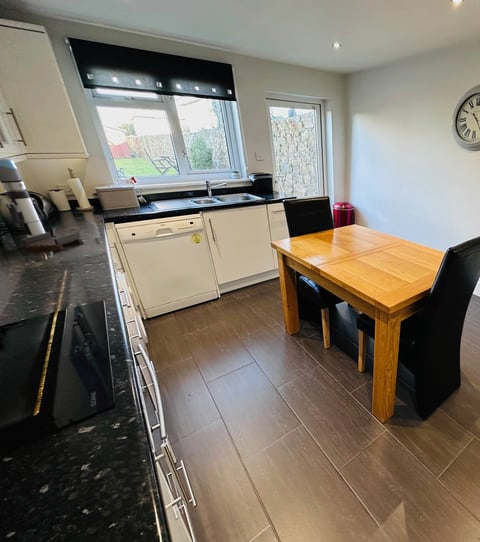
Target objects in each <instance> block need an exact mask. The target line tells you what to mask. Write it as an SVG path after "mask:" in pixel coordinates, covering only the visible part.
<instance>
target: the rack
mask: <svg viewBox="0 0 480 542" xmlns="http://www.w3.org/2000/svg"><path fill="white" fill-rule="evenodd" d="M21 241H22V243H23V245H24V246H25V249H26V251H27V253H28V252H65V251H66V249H65V247H64V246H81V245H84V242H83V239H82V238H81V234H80V232H79V231H75V232H71V233H68V234H66V235H62V236H57V237H56V236H55V237H54V236H53V237H52V235H51V232H50V231H45V233H43V234H39V235H36V236H32V237H29V238H28V237H26V238H21Z"/></svg>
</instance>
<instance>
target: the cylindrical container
mask: <svg viewBox="0 0 480 542" xmlns="http://www.w3.org/2000/svg"><path fill="white" fill-rule="evenodd" d="M15 200H16V202H17V204H18V205H15V206H16V207H15V208H16V210H17V212H22V214H23V216H24V223H27V225H28V227H29V229H30V231H31V234H32V235H26V238H29V237H32V236H36V235H39V234H43V233H46V230H45V231H44V229H43V226H44V225H43V226H42V224H41V222H40V220H39V217H38V215H37V213H36V211H35V208H34V206H33V204H32V202H31V200H32V199H31V197H29V198H24V199H15ZM9 201H10V202H11V199H9ZM20 221H21V220H20Z"/></svg>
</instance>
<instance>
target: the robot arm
mask: <svg viewBox="0 0 480 542" xmlns="http://www.w3.org/2000/svg"><path fill="white" fill-rule="evenodd" d="M0 184H1V186H2V188H3V190H4V191H5V194H6V197H7V198H8V199H9V200H10V199H11V201H10V203H6V204H5V206H6V207H7V209H8V211H9V215H10V217H11V221H12V223H13V224H18V225H19V228H20V229H21V230H22V232H23V234H24V236H27V235H32V234H31V231H30V229H29V227H28V225H27V223H24V216H23V214H22V212H17V210H16V208H15V207H16V206H15V205H18V204H17V202H16V200H15V199H24V198H29V197H30V194H29V192H28V190H26V189H27V187H26V186H25V183H24V181H23V179H22V176H21V174H20V172H19V169H18V167H17V165H16V164H15V162H14V160H13V159H11V158H0ZM30 198H31V197H30ZM31 202H32V204H33V206H34V208H35V211H36V213H37V215H38V217H39V220H40V222H41V224H42V226H43V229H44V231H45V232H46V229H45V226H44V222H43V220H44V218H45V215H44V213H43V212H42V209H41V208H40V206H39V204H38V201H37V200H36V199H31ZM20 220H21V221H20Z"/></svg>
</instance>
